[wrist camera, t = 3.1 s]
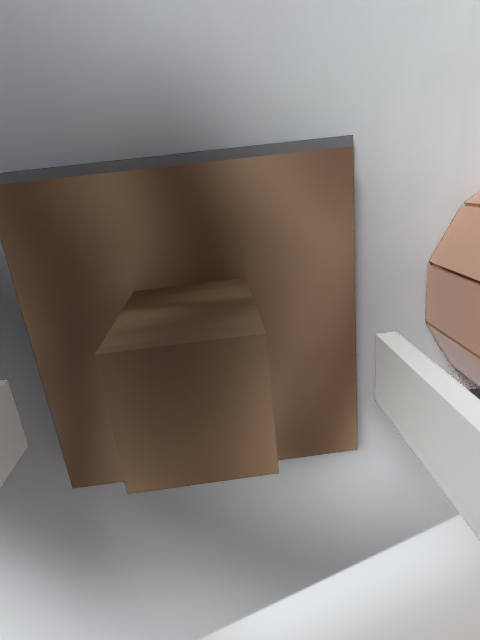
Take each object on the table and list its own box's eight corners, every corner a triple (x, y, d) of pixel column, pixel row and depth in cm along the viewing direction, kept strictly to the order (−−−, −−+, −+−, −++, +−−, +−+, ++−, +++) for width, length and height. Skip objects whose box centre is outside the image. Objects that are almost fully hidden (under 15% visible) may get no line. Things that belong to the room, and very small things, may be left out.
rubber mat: (77, 470, 24) (74, 477, 23) (-7, 174, 19) (-14, 174, 18) (353, 433, 25) (357, 439, 24) (348, 135, 19) (352, 135, 19)
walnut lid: (81, 469, 23) (15, 623, 15) (2, 185, 18) (-156, 193, 10) (348, 433, 24) (420, 563, 16) (341, 148, 19) (442, 129, 11)
